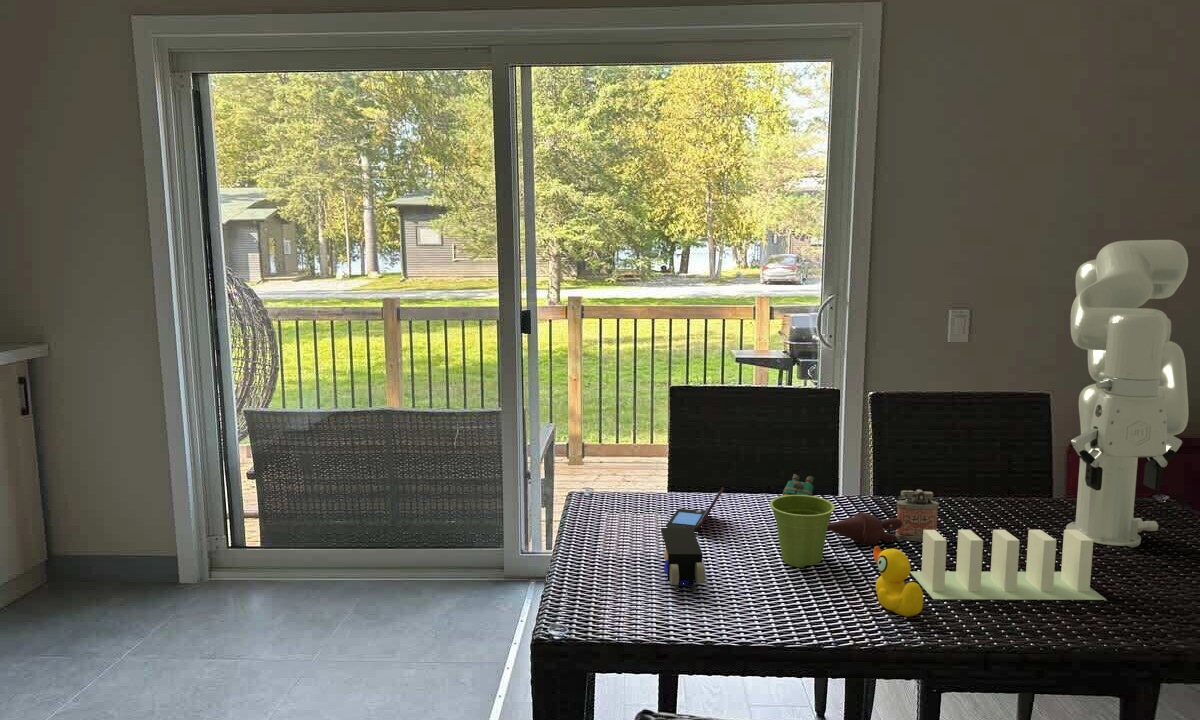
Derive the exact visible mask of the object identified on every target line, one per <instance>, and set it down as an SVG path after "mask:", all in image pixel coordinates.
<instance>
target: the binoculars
mask: <svg viewBox="0 0 1200 720" xmlns="http://www.w3.org/2000/svg"><path fill="white" fill-rule="evenodd" d="M813 482H814V476H813V475H811V476H810V475H809V476H807V477H806V479H805V482H803V481H800V475H797V474H795V473H793V476H792V478H791V480H788V482H787V483H786V485H785V487H784V489H783V492H782V494H781V496H786V495H808V496H813V490H814V485H813Z"/></svg>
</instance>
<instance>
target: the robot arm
mask: <svg viewBox="0 0 1200 720" xmlns="http://www.w3.org/2000/svg"><path fill="white" fill-rule="evenodd" d="M1188 267H1189V258H1188V253H1187V250H1186V248H1185V247H1184V245H1182V243H1180V242H1179V241H1176V240H1172V239H1143V240H1140V239H1139V240H1132V239H1131V240H1120V241H1119V240H1118V241H1114V242H1111V243H1109V244H1106V245H1105V246H1104V247H1102V248H1101V249H1100V250H1099V251H1098V254H1097V255H1096V257H1095V259H1092V260H1087V261H1086V262H1084V263H1082V264H1081V265H1080V266H1079V267H1078V269H1077V271H1076V273H1075V292H1076V297H1075V298H1074V300H1073V303H1072V305H1071V310H1070V335H1071V340H1072V342H1073V344H1074V345H1075V346H1076V347H1078V348H1080V349H1082V350H1087V368H1088V373H1089V375H1090V377H1091V379H1092V380H1094V381H1095V383H1092V384H1089V385H1087V386H1085V387H1084V388H1083V389H1081V391H1080V393H1079V397H1078V412H1079V413H1078V414H1079V423H1080V435H1078V436H1076V437H1074V438H1072V439H1071V441H1070V443H1071V445H1072V447H1073V449H1074V450H1075V454H1076V455H1077V457H1079V468H1078V469H1079V470H1078V471H1079V472H1078V483H1077V495H1076V497H1077V498H1076V512H1075V521H1072V522H1069V523H1068V524H1066V528H1065V530H1077V531H1079V532H1081V533H1082V534H1084V535H1085V536H1087V537H1089V538H1090V539H1092V540H1093V543H1094V544H1101V545H1105V546H1106V545H1108V546H1117V547H1118V546H1119V547H1126V546H1127V547H1130V548H1136V547H1138V546H1140V544H1141V541H1142V537H1141V536H1140V535H1139V534H1138V533H1141V532H1142V531H1145V532H1146V531H1147V532H1149V531H1150V532H1151V531H1152V532H1153V531H1154V532H1155V531H1156V532H1157V531H1158V530H1159V524H1158V523H1157V521H1156V520H1144V521H1143V519H1142V518H1140V517H1134V512H1135V511H1134V510H1135V509H1134V508H1135V497H1136V487H1137V475H1138V474H1137V471H1138V459H1139V458H1147V460H1148V461H1146V462H1145V464H1144V472H1143V485H1144V486H1146V487H1148V488H1150V489H1152V490H1154V491H1160V490H1161V484H1162V481H1163V471H1164V470H1163V469H1164V468H1165V467H1167V465H1168V462H1169V461H1170V460H1171V459H1173V458H1174V457H1176V452H1177V451H1178V450H1179V449H1180V447H1181V446H1182V444H1183V441H1182V440H1181V439H1180V438H1179V437H1176V435H1179V434H1181V433H1183V432H1184V430H1185V429H1186V428H1187V426H1188V421H1189V398H1188V397H1189V396H1188V381H1187V368H1186V366H1187V365H1186V358H1185V355H1184V351H1183V349H1182V347H1181V346H1180V345H1179V344H1178V343H1176V342H1174V341H1170V338H1171V334H1172V321H1171V319H1170V318H1168V316H1167V314H1166V313H1165V312H1164V311H1162V310H1159V309H1156V308H1147V307H1146V308H1145V307H1143V308H1141V307H1142V306H1143V305H1145V304H1146V303H1147V301H1148V300H1150V299H1152V300H1154V299H1156V300H1159V299H1160V300H1161V299H1167V298H1169V297H1172V296H1173V295H1174V294H1175V293H1176V291H1177V289H1178V288H1179V286H1180V285H1181V284H1182V282H1183V281H1184V279H1185V278H1186V275H1187V272H1188ZM1139 307H1140V308H1139Z"/></svg>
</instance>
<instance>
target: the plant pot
mask: <svg viewBox="0 0 1200 720" xmlns="http://www.w3.org/2000/svg"><path fill="white" fill-rule="evenodd" d="M769 507H770V508H771V510H772V512H773V516H774V517H773V518H774V520H775V522H776V528H777V536H778V541H779V547H780V554H781V559H782V560H783V562H784V563H785V564H787V565H789V566H791V567H795V568H800V569H801V568H805V567H806V566H812V565H817V564H819V563H821V562H822V559H823V555H824V554H823V553H824V548H825V542H826V538H827V532H828V529H827V527H828V524H830V521H831V516H832V513H833V512H834V511H835V509H836V508H835V507H836V506H835V505H834V503H832V501H829V500H828V499H825V498H822V497H818V496H814V495H812V496H808V495H786V496H782V495H780V496H778V497H775V498H773V499H772V500H770V502H769Z"/></svg>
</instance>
